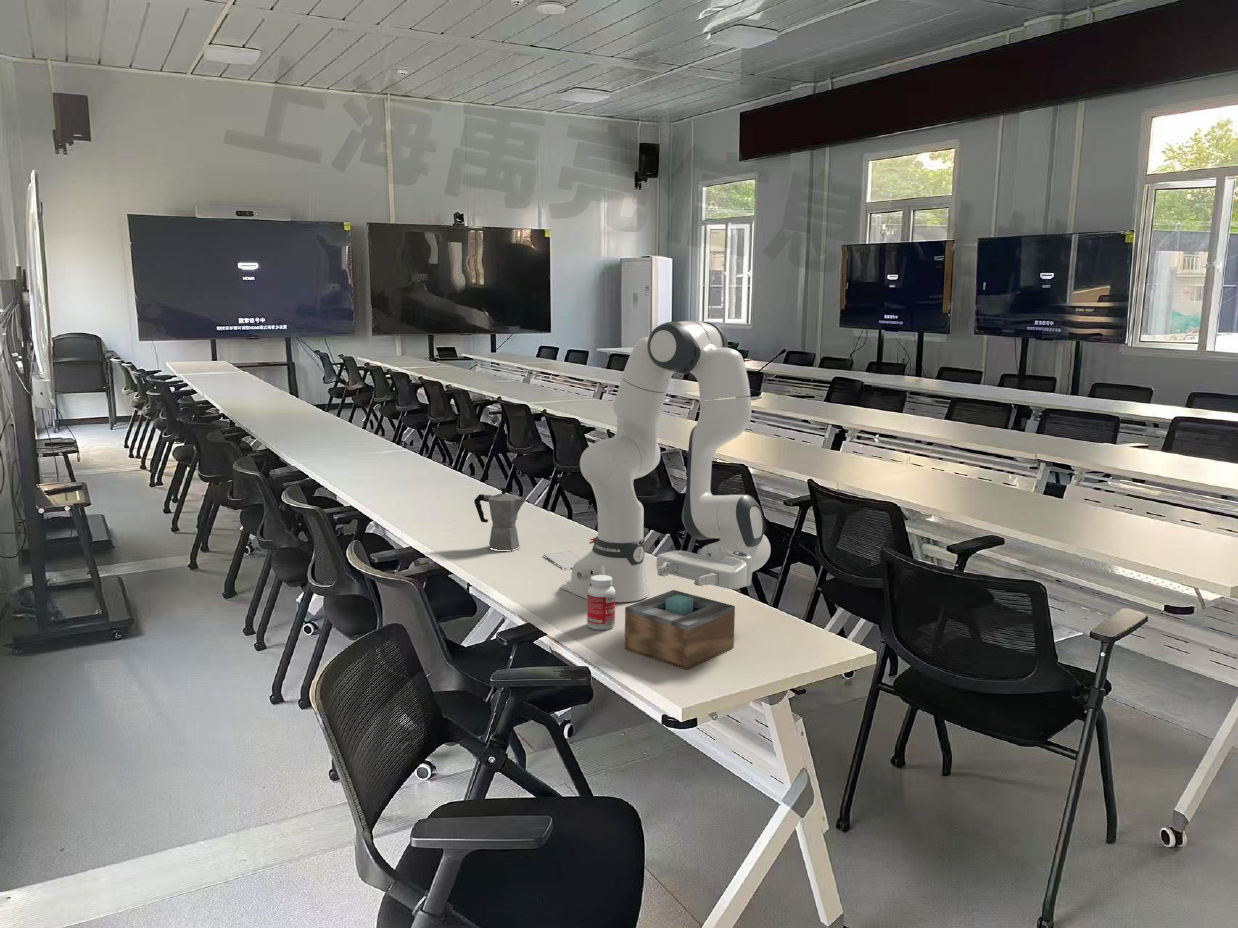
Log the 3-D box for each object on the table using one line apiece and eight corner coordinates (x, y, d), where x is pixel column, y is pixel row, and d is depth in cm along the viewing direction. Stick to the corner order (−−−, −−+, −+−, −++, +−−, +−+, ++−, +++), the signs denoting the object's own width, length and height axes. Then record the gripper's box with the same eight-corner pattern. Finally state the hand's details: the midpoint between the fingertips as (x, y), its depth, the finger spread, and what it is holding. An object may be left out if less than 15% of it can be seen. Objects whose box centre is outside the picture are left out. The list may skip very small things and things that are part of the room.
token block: (664, 645, 190) (665, 598, 188) (676, 640, 193) (677, 594, 191) (680, 650, 187) (681, 603, 185) (691, 645, 190) (693, 598, 188)
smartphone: (563, 568, 245) (542, 554, 258) (563, 572, 245) (542, 557, 258) (591, 565, 249) (570, 550, 262) (591, 568, 249) (570, 554, 262)
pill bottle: (608, 632, 199) (609, 583, 197) (582, 628, 201) (582, 579, 199) (619, 623, 204) (619, 575, 202) (593, 619, 206) (594, 572, 205)
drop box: (624, 649, 189) (625, 607, 187) (672, 629, 201) (673, 589, 199) (686, 669, 179) (687, 625, 177) (733, 647, 190) (734, 605, 189)
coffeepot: (530, 545, 270) (530, 485, 267) (521, 553, 261) (521, 491, 258) (480, 542, 273) (479, 483, 270) (469, 550, 264) (468, 489, 261)
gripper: (679, 540, 203) (639, 552, 193) (758, 557, 190) (719, 571, 179) (679, 568, 204) (638, 581, 194) (757, 587, 191) (718, 602, 180)
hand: (678, 576), depth 186 cm, fingers open, 8 cm apart
